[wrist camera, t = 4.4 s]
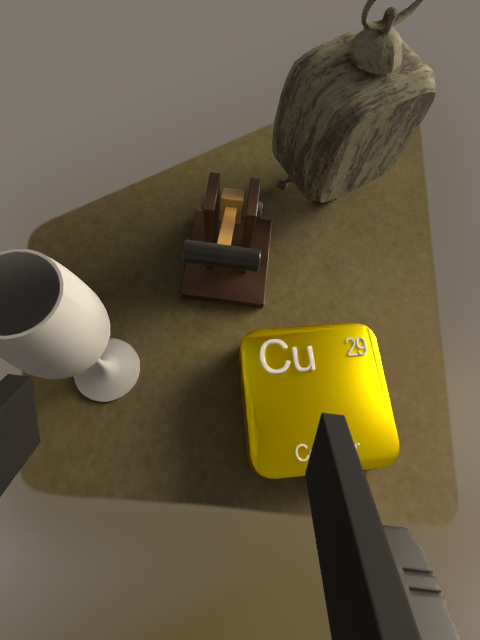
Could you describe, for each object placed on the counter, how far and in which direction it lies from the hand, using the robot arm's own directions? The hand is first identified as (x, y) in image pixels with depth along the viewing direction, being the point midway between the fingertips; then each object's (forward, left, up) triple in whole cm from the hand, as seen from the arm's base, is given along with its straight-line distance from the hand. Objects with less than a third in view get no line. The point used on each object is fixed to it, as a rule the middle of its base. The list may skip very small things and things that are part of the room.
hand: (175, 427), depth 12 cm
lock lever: (-5, +17, -17) cm, 24 cm away
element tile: (+9, +9, -29) cm, 32 cm away
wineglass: (-13, +4, -29) cm, 32 cm away
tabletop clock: (+2, +38, -29) cm, 48 cm away
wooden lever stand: (-6, +22, -29) cm, 37 cm away
